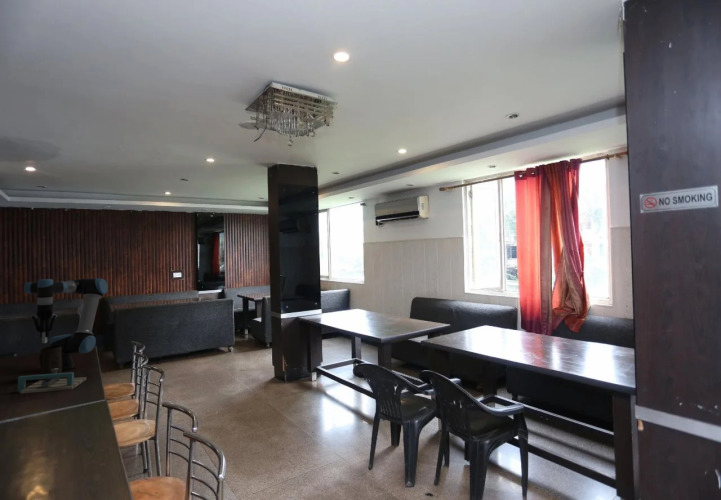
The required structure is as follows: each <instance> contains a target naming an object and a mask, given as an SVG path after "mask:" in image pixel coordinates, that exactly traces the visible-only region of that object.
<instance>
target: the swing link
mask: <svg viewBox="0 0 721 500" xmlns="http://www.w3.org/2000/svg"><path fill="white" fill-rule="evenodd" d="M59 379H60V378H49V379H46V380H45V381H43V380H42V381H43V382H42V388H43V387H49V386H50V385H52V384H53V383H55V382H57V381H59Z"/></svg>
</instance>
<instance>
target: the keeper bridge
mask: <svg viewBox="0 0 721 500" xmlns="http://www.w3.org/2000/svg"><path fill="white" fill-rule="evenodd" d="M49 378H59V379H63V378H66V379H67V386H70V385H73V384H74V378H75V372H73V371H72V372H62V373H55V374H42V375H41V374H30V375H20V376H18V377H17V393H20V392H21V390H23V389H25V388H27V386H26V385H27V384H26V382H27V381H33V380H41V379H49Z"/></svg>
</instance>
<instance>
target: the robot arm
mask: <svg viewBox="0 0 721 500" xmlns="http://www.w3.org/2000/svg"><path fill="white" fill-rule="evenodd" d="M108 288H109V287H108V282H107V281H106V280H105V279H104V278H79V279H71V280H70V279H69V280H66V281H61V280H59V281H54V280H53V279H52V278H46V279H38V280H37V281H31V282H30V281H27V282H26V283H25V284H24V286H23V291H24V293H25V294H27V295H28V294H29V295H37V298H36V299H37V302H36V303H37V306H36V314H35V315H32V316H31V319H32V320H33V323H34V326H35V330H36V332H39V333H40V334H39V335H40V338H41V344H47V343H48V338H49V336H50V332H51V331H53V330H54V326H55V323H56V320H57V318H58V317H59V315H58V314H55V313H54V310H53V309H54V305H53V303H54V294H56V295H57V294H63V293H65V294H72V295H74V294H75V295H83V297H84V302H83V305H82V310H81V313H80V318H79V322H78V326H77V330H76V331H74V332H73V334H71V333H66V334H61V335H56V336H52V337H51V338H50V340H49V347H51V346H61V348H62V349H61V355H62V371H67V370H71V369H73V368H74V367H75V364H74V361H73V358H72V354H87V353H90V352H92V350H94V348H95V346H96V343H97V340H96V337H95V336H94V333H93V328H94V327H93V326H94V324H95V317H96V314H97V310H98V307H99V306H98V305H99V302H100V299H103V295H106V294H107V292H108V290H109V289H108ZM50 320H51V321H50Z"/></svg>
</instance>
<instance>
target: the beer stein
mask: <svg viewBox="0 0 721 500" xmlns="http://www.w3.org/2000/svg"><path fill="white" fill-rule="evenodd" d="M61 349H62V348H61V346H51V347H50V346H47V347H46V346H45V347H43V348H42V349H40V353H39V356H38V357H39V359H38V360H39V365H40V370H39V371H40V373H41V374H40V375H42V374H53V371H51V369H54V368H58V370H57V373H63V370H62V355H61ZM43 380H46V379H40V381H43Z"/></svg>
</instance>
